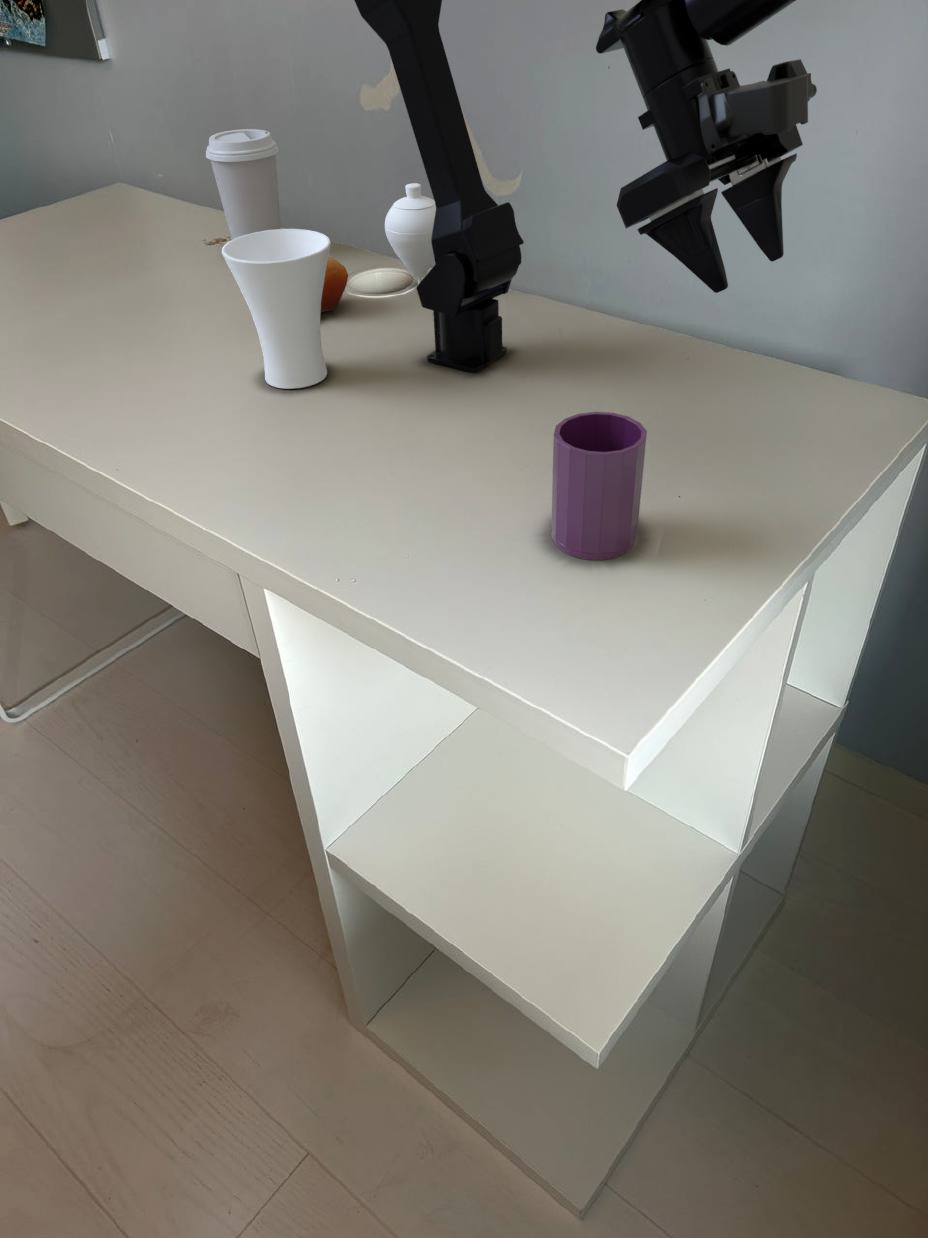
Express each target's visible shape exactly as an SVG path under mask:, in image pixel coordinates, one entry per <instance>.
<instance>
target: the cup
mask: <svg viewBox="0 0 928 1238" xmlns="http://www.w3.org/2000/svg"><path fill="white" fill-rule="evenodd" d="M331 244H332V243H331V238H329V237H328V236H327V235H326V234H324V233H322V232H319V231H315V230H311V229H303V228H281V229H277V230H267V231H261V232H255V233H251V234H247V235H243V236H241V237H238V238H235V239H233V240H232V239H231V240H230V241H227V242H226V243H225V244H224V245H223V247H222V248H221V254H222V256H223V259H224V260H225V263H226V264H227V266H228V269H229V270H230V271H231V274H232V276H233V278H234V280H235V282H236V284H237V287H238V288H239V290H240V292H241V294H242V296H243V298H244V301H245V302H246V304H247V306H248V309H249V312H250V315H251V317H252V320H253V323H254V326H255V328H256V331H257V335H258V339H259V343H260V347H261V351H262V355H263V368H264V380H265V382H266V383H267V385H270V387H271V386H272V387H274V388H277V389H278V388H279V389H288V390H289V389H290V390H291V389H292V390H293V389H302V388H306V387H311V386H314V385H317V384H318V383H321V382H322V381H323V380H325V379H326V377H327V375H328V369H327V366H326V365H327V364H326V361H325V357H324V351H323V349H322V334H321V313H322V312H321V298H322V292H323V285H324V279H325V273H326V267H327V261H328V257H330V256H329V255H330V249H331Z"/></svg>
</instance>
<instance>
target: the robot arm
mask: <svg viewBox="0 0 928 1238" xmlns="http://www.w3.org/2000/svg"><path fill="white" fill-rule="evenodd" d="M796 1H797V0H640V1H638V2H636V4H635V5H633V6H632V7H631V8H629V9H628V10H627V11H626V10H625V9H623V8H621V9H615V10H612V11H611V10H610V11H607V12H606V13H605V14H604V22H603V26H602V29H601V32H600V34H599V36H598V39H597V42H596V45H595V51H596V52H597V54H600V55H602V54H605V53H606V54H607V53H609V52H613V51H617V50H622V49H623V50H624V52H625V55H626V59H627V60H628V63H629V65H630V68H631V70H632V73H633V76H634V78H635V81H636V84H637V86H638V89H639V91H640V94H641V97H642V100H643V102H644V105H645V107H646V110H647V111H645V112H643V113H642V114H640V115H639V116H637V119H638V122H639V123H640V126H641V129H642V130H643V131H644V130H647V129H649V128H652V127H653V128H654V131H655V133H656V134H655V135H656V137H657V139H658V141H659V144H660V147H661V149H662V152H663V155H664V156H665V160H666V161H664V162H662V163H661V164H659V165H658V166H655V167H654V168H652V169H651V170H649V171H647V172H645V173H644V174H642V175H641V176H639V177H637V178H636V179H634V180H632V181H630V182H628V183H627V184H625V185H623V186H622V187H620V190H619V194H618V198H617V202H616V207H617V210H618V214H619V215H620V218H621V220H622V223H623V225H624V228H625V229H628V228H631V227H633V226H635V225H638V224H640V223H642V222H644V221H646V220H648V219H649V220H650V222H648V223H645V224H644V225H642V226H640V227H639V228H637V229H636V230H637V232H638V234H639V235H641V236H642V235H647V236H648V237H649V238H650V239H651V240H653V241H654V242H656V243H657V244H658V246H659V245H660V246H661V248H663V249H664V250H666V251H667V252H668V253H670V254H671V255H672V256H673V257H674V258H675V259H677V260H678V261H679V262H680V263H681V264H683V265H684V266H685V267H686V268H687V269H688V270H689V271H690V272H691V273H692V274H693V275H694V276H696V278H697V279H699V280H700V281H701V282H702V283H703V284H705V285H706V287H708V288H709V289H710V290H711V291H712V292H713V293H715V294H718V293H721V292H723V291H725V290H726V289H728V288H729V282H728V277H727V272H726V267H725V264H724V260H723V257H722V254H721V250H720V246H719V243H718V239H717V236H716V232H715V228H714V225H713V221H712V213H713V210H714V206H715V203H716V199H717V197H718V196H717V195H718V192H719V189H718V187H716V188H713V189H712V190H710V191H707V192H705V193H704V190H703V189H705V188H706V187H709V186H710V183H712V182H715V181H717V180H718V181H719V182H720V183H721V184H722V185H723V186H726V185H729V184H731V186H730V187H727V188H726V189H724V190H722V191H721V192H720V193H721V195H722V196H723V198H724V200H726V202H727V204H728V205H729V207H730V208H731V210H732V211H733V212H734V214H735V215H736V216H737V218H738V219H739V221H740V222H741V224H742V225H743V226H744V228H745V229H746V231H747V233H749V235H750V236H751V238H752V240H753V241H754V242H755V244H756V245H757V246H758V248H759V249H760V251H761V252H762V253H763V255H764V256H766V258H767V259H768V260H769V261H770V262H775V261H778V260H779V259H782V258H784V257H783V256H784V253H785V251H784V231H783V230H784V229H783V209H782V207H783V206H782V205H783V204H782V198H783V197H782V196H783V194H782V193H783V183H784V181H785V179H786V177H787V174H788V172H789V170H790V168H791V167H792V164H793V163H795V162H796V161H797V157H798V153H797V152H796V153H794V154H792V155H789V156H787V157H784V158H782V157H783V156H785V155H787V154H789V153H791V152H793V151H794V150H796V149H798V148H800V147H802V146H803V140H802V137H801V136H800V135H801V134H800V132H799V129H798V126H797V125H798V124H800V125H806V124H808V123H809V101H810V100H811V99H812V98H813V97H815V96H816V95H817V91H818V89H817V86H816V84H814V83H812V73H811V72H809V73H808V71H807V69H806V67H805V65H804V63H803V61H802V58H801V59H800V58H799V59H794V60H788V61H783V62H780V63H777V64H773V65H772V67H771V68H770V71H769V73H768V76H767V78H766V80H761V81H760V80H759V81H758V82H755V83H749V84H743V85H741V84H740V82H739V79H738V76H737V74H736V72H735V71H734V70H731V68H730V67H728V68H726V69H723V70H719V69H718V66H717V63H716V61H715V58H714V55H713V52H712V51H711V47H710V44H709V42H708V41H712V40H713V42H715V43H716V44H719V45H720V46H726V47H728V46H731V45H732V44H734V43H736V42H737V41H738V40H740V39H741V38H743V37H744V36H745V35H747V34H749V33H750V32H752V31H753V30H754V29H756V28H758V27H759V26H760V25H763V23H765V22H767V21H768V20H769V19H771V18H772V17H775V15H777V14H778V13H780V12H781V11H783V10H784V9H786V8H787V7H790V5H792V4H794V3H795V2H796ZM354 3H355V6H356V7H357V10H358V12H359V14H360V16H361V18H362V19H363V20H364V21H365V22H366V24H367V25H368V26H369V27H370V28H371V29H372V30H373V31H374V32H375V33H376V35H377V36H378V37H379V38H380V39H381V41H382V42H383V43H384V44H385V45H386V47H387V51H388V52H389V57H390V59H391V63H392V66H393V69H394V73H395V77H396V80H397V83H398V86H399V89H400V92H401V96H402V98H403V103H404V105H405V108H406V112H407V115H408V118H409V122H410V126H411V128H412V131H413V135H414V138H415V141H416V145H417V148H418V151H419V155H420V158H421V161H422V164H423V167H424V171H425V174H426V178H427V181H428V185H429V187H430V190H431V193H432V198H433V200H434V201H435V205H436V212H435V219H434V225H433V231H432V238H431V243H432V248H433V253H434V263H435V264H434V265H433V266H432V268H431V269H430V270H429V271H428V272H427V274H425V275H424V276H423V277H424V278H423V279H421V282H420V283H419V284H418V283H417V285H416V292H417V295H418V299H419V301H420V305H421V307H422V308H423V309H427V310H429V311H432V315H433V331H434V332H433V333H434V347H435V350H434V351H432V352H431V353H429V354H427V356H426V361H427V362H429V363H433V364H438V365H442V366H445V367H446V366H447V367H451V368H455V369H458V370H463V371H467V372H471V373H477V372H479V371H481V370H483V369H484V368H485V367H487V366H489V365H490V364H492V363H493V362H494V361H496V360H497V359H499V358H501V357H502V356H504V355H505V354H506V353H508V347H507V346H503V318H502V316H501V315H499V314H500V313H499V312H500V311H499V310H500V308H499V307H500V306H499V300H498V299H496V298H497V297H499V296H501V295H506V294H508V292H509V289H510V287H511V283H512V279H513V278H514V277H515V276H516V275H517V272H518V270H519V267H520V266H521V264H522V251H521V247H520V246H522V245H523V244H524V243H525V242H524V239H523V238H522V237H521V234H520V233H519V230H518V228H517V223H516V222H517V221H516V216H515V211H514V208H513V206H512V204H511V203H510V202H509V201H507V202H504V203H501V204H498V203H497V202H496V201H495V200H494V198H492V196H491V195H490V194H489V193H488V192H487V191H486V188H485V186H484V183H483V180H482V176H481V173H480V170H479V165H478V163H477V162H478V161H477V159H476V154H475V152H474V149H473V144H472V141H471V138H470V135H469V131H468V127H467V124H466V120H465V117H464V113H463V109H462V106H461V102H460V99H459V96H458V92H457V88H456V85H455V82H454V81H455V80H454V77H453V74H452V71H451V68H450V63H449V61H448V60H449V59H448V57H447V53H446V49H445V45H444V44H443V43H444V42H443V40H442V35H441V32H440V27H439V23H440V18H441V12H442V4H443V0H354Z"/></svg>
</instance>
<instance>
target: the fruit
mask: <svg viewBox="0 0 928 1238" xmlns="http://www.w3.org/2000/svg"><path fill="white" fill-rule="evenodd" d="M348 279H349V273H348V271H347V268H346V267H345V265H343V264H342V263H341V262H339V261H338V260H337V259H335V258H334V257H332V256H328V261H327V267H326V273H325V279H324V285H323V292H322V298H321V313H323V312H330V311H333V310H334V309H335V308H337V306H338V305H339V303H340V301H341V299H342V297H343V294H344V292H345V289H346V287H347V285H348Z"/></svg>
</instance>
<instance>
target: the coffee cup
mask: <svg viewBox="0 0 928 1238" xmlns="http://www.w3.org/2000/svg"><path fill="white" fill-rule="evenodd" d="M279 151H280V149H279V146H278V144H277V142H276V141H275V140H274V139H273V138H272V135H271V132H269V131H268V130H265V129H255V128H246V129H245V128H244V129H233V130H227V131H220V132H217V133H214V134H212V135H210V137H209V138H208V145H207V147H206V150H205V157H206V159H208V160H209V161H210V164H211V168H212V172H213V175H214V178H215V179H214V180H215V181H216V186H217V189H218V194H219V198H220V201H221V204H222V208H223V212H224V215H225V220H226V224H227V227H228V230H229V234H230V238H231V240H233V239H235V238H238V237H241V236H243V235H247V234H251V233H255V232H261V231H267V230H277V229H282V228H281V214H280V200H279V199H280V197H279V185H278V184H279V183H278V182H279V181H278V168H277V166H278V165H277V154H278V153H279Z"/></svg>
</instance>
